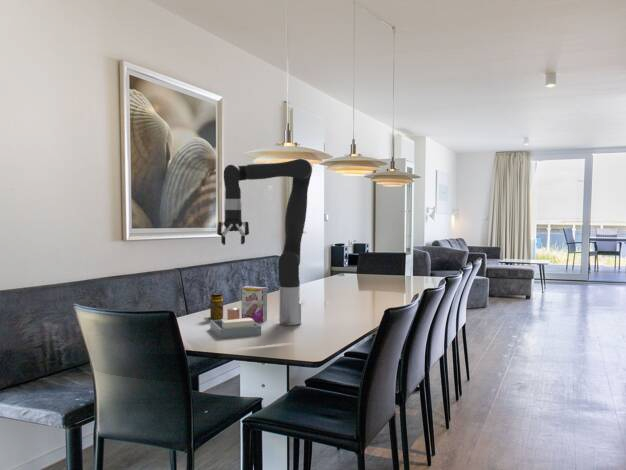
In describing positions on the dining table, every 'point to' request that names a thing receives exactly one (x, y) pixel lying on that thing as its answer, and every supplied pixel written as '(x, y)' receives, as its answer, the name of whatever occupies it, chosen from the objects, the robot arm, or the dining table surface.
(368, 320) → the dining table surface
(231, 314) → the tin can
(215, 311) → the condiment
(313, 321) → the dining table surface
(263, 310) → the candy bar box
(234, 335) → the tote
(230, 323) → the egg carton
